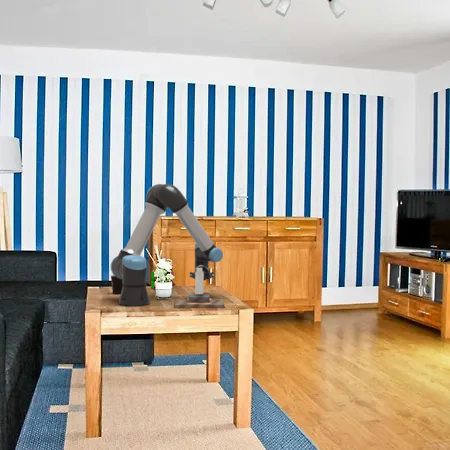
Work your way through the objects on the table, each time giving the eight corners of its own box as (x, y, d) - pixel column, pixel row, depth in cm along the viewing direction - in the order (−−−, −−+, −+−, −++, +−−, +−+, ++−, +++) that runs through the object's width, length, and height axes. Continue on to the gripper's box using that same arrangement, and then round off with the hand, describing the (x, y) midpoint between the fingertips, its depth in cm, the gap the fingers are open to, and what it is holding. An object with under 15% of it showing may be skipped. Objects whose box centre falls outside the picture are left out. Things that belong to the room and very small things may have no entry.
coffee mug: (123, 294, 340) (123, 276, 340) (108, 294, 342) (108, 276, 342) (130, 291, 352) (130, 274, 351) (116, 291, 353) (116, 273, 353)
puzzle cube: (173, 288, 366) (173, 271, 365) (157, 290, 361) (157, 272, 360) (166, 286, 374) (166, 270, 374) (150, 287, 369) (150, 270, 369)
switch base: (173, 308, 299) (173, 298, 299) (175, 302, 317) (175, 293, 317) (224, 308, 300) (224, 298, 300) (223, 302, 318) (223, 293, 318)
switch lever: (195, 294, 307) (195, 267, 309) (195, 294, 310) (195, 268, 312) (203, 294, 307) (203, 267, 309) (203, 294, 310) (203, 268, 312)
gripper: (214, 280, 335) (215, 286, 311) (189, 280, 334) (188, 286, 311) (214, 266, 335) (215, 270, 311) (189, 266, 334) (188, 270, 311)
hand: (202, 278), depth 311 cm, fingers closed
